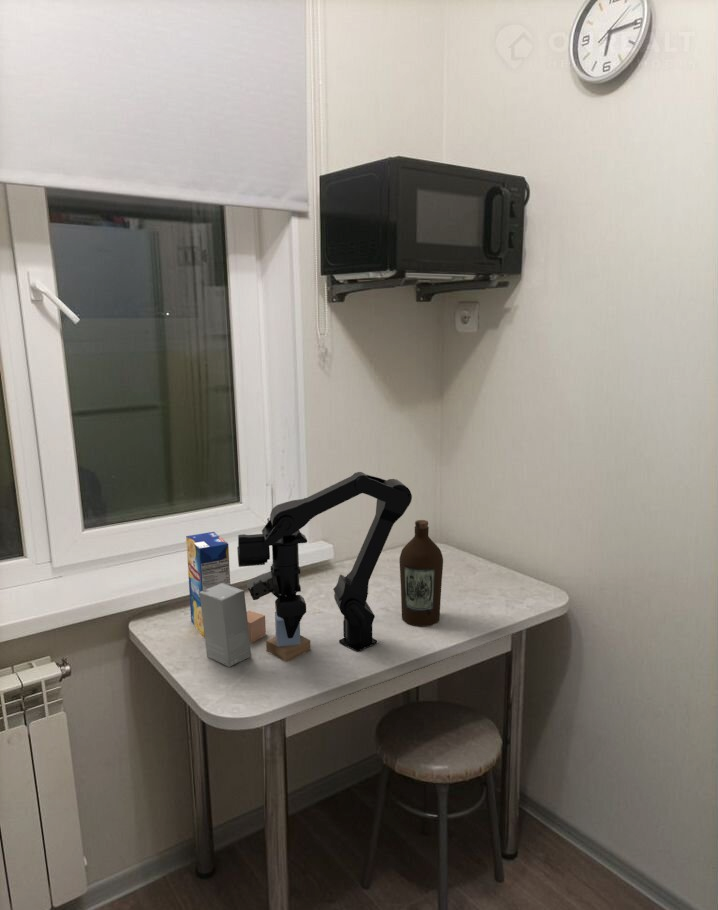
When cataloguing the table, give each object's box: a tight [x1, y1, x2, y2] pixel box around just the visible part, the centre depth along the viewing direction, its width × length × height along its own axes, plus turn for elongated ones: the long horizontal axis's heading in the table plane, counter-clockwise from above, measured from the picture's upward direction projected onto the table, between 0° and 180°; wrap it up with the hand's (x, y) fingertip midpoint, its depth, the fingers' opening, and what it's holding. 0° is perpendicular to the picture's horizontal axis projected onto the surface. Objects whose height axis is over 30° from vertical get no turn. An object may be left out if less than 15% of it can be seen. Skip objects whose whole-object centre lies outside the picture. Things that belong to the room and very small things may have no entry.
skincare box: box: [200, 583, 252, 668], centre depth 149 cm, size 8×7×16 cm
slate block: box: [274, 611, 301, 647], centre depth 152 cm, size 5×5×6 cm
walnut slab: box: [265, 634, 311, 662], centre depth 153 cm, size 7×7×3 cm
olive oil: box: [399, 519, 444, 627], centre depth 167 cm, size 11×11×25 cm
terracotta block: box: [246, 610, 267, 644], centre depth 160 cm, size 5×5×5 cm
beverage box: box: [185, 531, 231, 639], centre depth 164 cm, size 7×11×22 cm, turn 30°
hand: (287, 628), depth 152 cm, fingers open, 9 cm apart
